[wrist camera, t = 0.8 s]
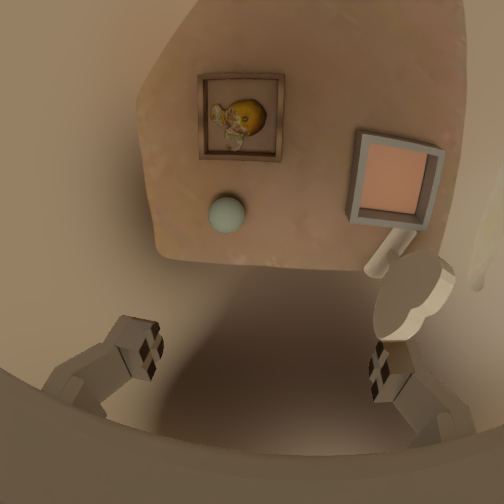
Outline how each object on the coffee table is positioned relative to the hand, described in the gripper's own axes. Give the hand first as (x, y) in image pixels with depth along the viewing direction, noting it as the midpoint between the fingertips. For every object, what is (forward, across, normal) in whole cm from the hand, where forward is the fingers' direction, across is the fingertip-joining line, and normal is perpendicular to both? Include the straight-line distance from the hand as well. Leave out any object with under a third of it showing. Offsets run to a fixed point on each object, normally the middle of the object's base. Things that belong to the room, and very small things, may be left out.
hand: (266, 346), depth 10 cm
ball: (+36, +9, +11) cm, 39 cm away
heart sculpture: (+40, -21, +17) cm, 48 cm away
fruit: (+39, +8, -4) cm, 40 cm away
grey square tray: (+39, -18, +3) cm, 43 cm away
